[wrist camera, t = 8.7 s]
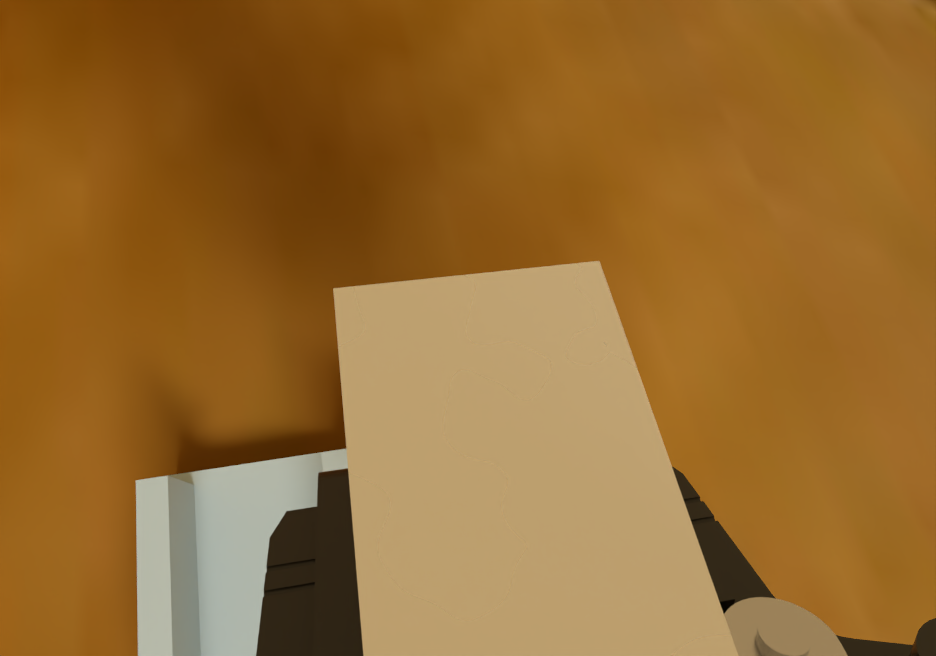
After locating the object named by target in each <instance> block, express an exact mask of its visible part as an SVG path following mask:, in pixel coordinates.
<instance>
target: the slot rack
mask: <svg viewBox="0 0 936 656" xmlns="http://www.w3.org/2000/svg"><path fill="white" fill-rule="evenodd" d="M346 468H348V462H347V450H346V449H340V450H333V451H327V452H320V453H313V454H307V455H300V456H293V457H287V458H280V459H274V460H267V461H260V462H254V463H247V464H241V465H234V466H227V467H221V468H214V469H208V470H201V471H194V472H188V473H181V474H175V475H168V476H162V477H155V478H149V479H142V480H136V531H137V611H138V656H256V652H257V643H258V634H259V626H260V617H261V608H262V600H263V597H264V582H265V574H266V572H267V567H266V565H267V556H268V548H269V539H270V536H271V535H272V533H273V532H274V530H275V529H276V527H277V525H278V524H279V522H280V521H281V519H282V518H283V516H284V514H285V513H286V511H290V510H297V509H304V508H310V507H317V490H318V473H319V472H325V471H332V470H339V469H346Z"/></svg>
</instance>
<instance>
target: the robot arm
mask: <svg viewBox="0 0 936 656" xmlns="http://www.w3.org/2000/svg"><path fill="white" fill-rule="evenodd" d="M672 469H673V471H674V474H675V477H676V480H677V483H678V486H679V488H680V491H681V494H682V497H683V500H684V503H685V505H686V508H687V511H688V514H689V517H690V520H691V522H692V525H693V528H694V531H695V534H696V537H697V539H698V542H699V545H700V548H701V551H702V554H703V556H704V559H705V562H706V565H707V568H708V571H709V573H710V576H711V579H712V582H713V585H714V588H715V591H716V593H717V596H718V599H719V602H720V605H721V608H722V610H723V613H724V616H725V619H726V622H727V625H728V627H729V630H730V633H731V636H732V639H733V642H734V644H735V647H736V650H737V653H738V656H936V618H935V619H932V620H929V621H928V622H926V623H925V624H923V626H922V627H921V628H920V629H919V631H918V634H917V636H916V639H915V642H914V644H913V645H906V644H897V643H888V642H879V641H869V640H860V639H852V638H846V637H841V636H837V635H835V634H834V633H833V632H832V630H831V629H830V628H829V627H828V626H827V625H826V624H825V623H824V622H823V621H821V620H820V619H819V618H818V617H816V616H815V615H813V614H812V613H810V612H809V611H807V610H805V609H803V608H802V607H799V606H797V605H795V604H793V603H790V602H787V601H783V600H780V599H776V598H775V597H774V596H773V595H772V594H771V592H770V591H769V590H768V588H767V587H766V585H765V584H764V583H763V581H762V580H761V579H760V577H759V576H758V575H757V573H756V572H755V571H754V569H753V568H752V567H751V565H750V564H749V563H748V561H747V560H746V558H745V557H744V556H743V554H742V553H741V552H740V550H739V549H738V548H737V546H736V545H735V544H734V542H733V541H732V540H731V538H730V537H729V536H728V534H727V533H726V531H725V530H724V529H723V527H722V526H721V525H720V523H719V522H718V521H715V520H714V515H713V514H712V513H711V511H710V510H709V509H708V507H707V506H706V504H705V503H704V502H703V501H702V502H701V501H700V496H699V495H698V494H697V492H696V491H695V490H694V488H693V487H692V486H691V484H690V483H689V482H688V480H687V479H686V477H685V476H684V475H683V474H682V473H681V472H680V471H678V470H677V469H675V468H674V467H672ZM266 567H267V572H266V574H265V582H264V597H263V600H262V608H261V617H260V626H259V634H258V643H257V652H256V656H363V644H362V632H361V620H360V608H359V596H358V584H357V571H356V559H355V547H354V535H353V523H352V510H351V498H350V486H349V474H348V468H346V469H339V470H332V471H325V472H319V473H318V490H317V507H310V508H304V509H297V510H290V511H286V513H285V514H284V516H283V518H282V519H281V521H280V522H279V524H278V525H277V527H276V529H275V530H274V532H273V533H272V535H271V536H270V539H269V548H268V556H267V565H266Z"/></svg>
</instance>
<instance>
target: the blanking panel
mask: <svg viewBox="0 0 936 656" xmlns="http://www.w3.org/2000/svg"><path fill="white" fill-rule="evenodd" d="M333 291H334V303H335V316H336V328H337V340H338V352H339V364H340V377H341V389H342V401H343V413H344V425H345V437H346V450H347V462H348V474H349V486H350V498H351V510H352V523H353V535H354V547H355V559H356V571H357V584H358V596H359V608H360V620H361V632H362V644H363V656H738V653H737V650H736V647H735V644H734V642H733V639H732V636H731V633H730V630H729V627H728V625H727V622H726V619H725V616H724V613H723V610H722V608H721V605H720V602H719V599H718V596H717V593H716V591H715V588H714V585H713V582H712V579H711V576H710V573H709V571H708V568H707V565H706V562H705V559H704V556H703V554H702V551H701V548H700V545H699V542H698V539H697V537H696V534H695V531H694V528H693V525H692V522H691V520H690V517H689V514H688V511H687V508H686V505H685V503H684V500H683V497H682V494H681V491H680V488H679V486H678V483H677V480H676V477H675V474H674V471H673V469H672V466H671V463H670V460H669V457H668V454H667V452H666V449H665V446H664V443H663V440H662V437H661V435H660V432H659V429H658V426H657V423H656V420H655V418H654V415H653V412H652V409H651V406H650V403H649V400H648V398H647V395H646V392H645V389H644V386H643V383H642V381H641V378H640V375H639V372H638V369H637V366H636V364H635V361H634V358H633V355H632V352H631V349H630V347H629V344H628V341H627V338H626V335H625V332H624V330H623V327H622V324H621V321H620V318H619V315H618V313H617V310H616V307H615V304H614V301H613V298H612V296H611V293H610V290H609V287H608V284H607V281H606V279H605V276H604V273H603V270H602V267H601V264H600V262H599V261H593V262H584V263H574V264H564V265H555V266H545V267H536V268H526V269H516V270H507V271H497V272H487V273H478V274H468V275H458V276H449V277H439V278H429V279H420V280H410V281H400V282H391V283H381V284H371V285H362V286H352V287H342V288H333Z"/></svg>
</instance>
